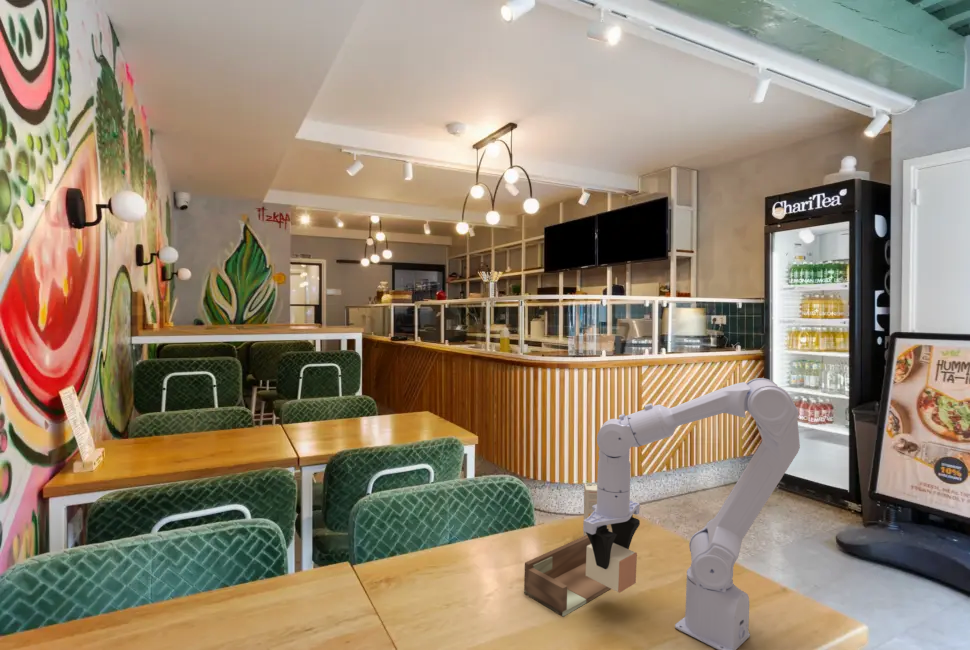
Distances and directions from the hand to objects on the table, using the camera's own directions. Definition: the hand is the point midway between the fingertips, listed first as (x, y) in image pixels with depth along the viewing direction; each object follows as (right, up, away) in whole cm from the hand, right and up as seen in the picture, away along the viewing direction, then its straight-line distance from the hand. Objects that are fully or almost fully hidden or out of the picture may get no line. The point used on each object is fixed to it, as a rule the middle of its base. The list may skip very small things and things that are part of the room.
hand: (611, 561), depth 94 cm
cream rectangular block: (0, -3, 0) cm, 3 cm away
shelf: (-5, -9, +8) cm, 13 cm away
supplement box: (+4, -8, +28) cm, 30 cm away
